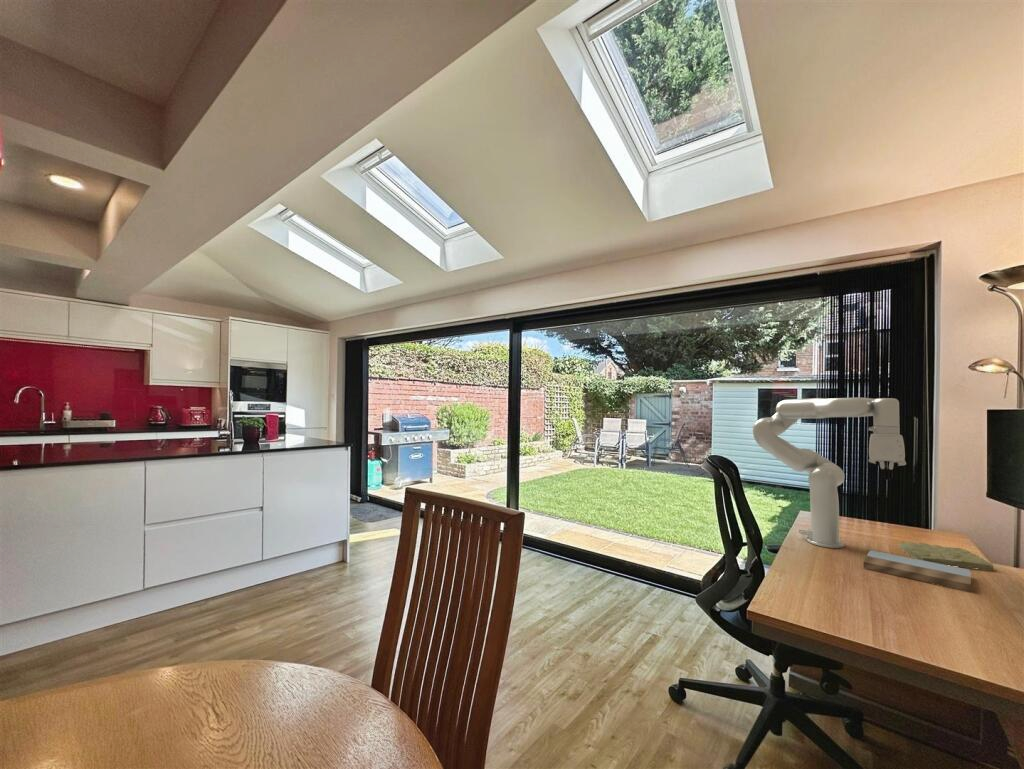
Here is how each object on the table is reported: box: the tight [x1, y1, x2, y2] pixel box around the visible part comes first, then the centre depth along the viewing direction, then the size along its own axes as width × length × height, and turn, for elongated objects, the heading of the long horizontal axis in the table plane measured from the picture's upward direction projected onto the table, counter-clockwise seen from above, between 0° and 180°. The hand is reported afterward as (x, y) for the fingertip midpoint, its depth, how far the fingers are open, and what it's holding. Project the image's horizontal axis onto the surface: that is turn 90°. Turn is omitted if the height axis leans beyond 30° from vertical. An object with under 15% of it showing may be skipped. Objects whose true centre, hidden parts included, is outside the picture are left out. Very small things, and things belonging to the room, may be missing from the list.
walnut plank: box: [863, 555, 972, 593], centre depth 146 cm, size 26×8×2 cm, turn 45°
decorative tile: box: [897, 541, 994, 572], centre depth 163 cm, size 19×20×4 cm
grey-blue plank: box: [866, 549, 971, 577], centre depth 152 cm, size 26×8×2 cm, turn 45°
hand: (887, 479), depth 164 cm, fingers closed
